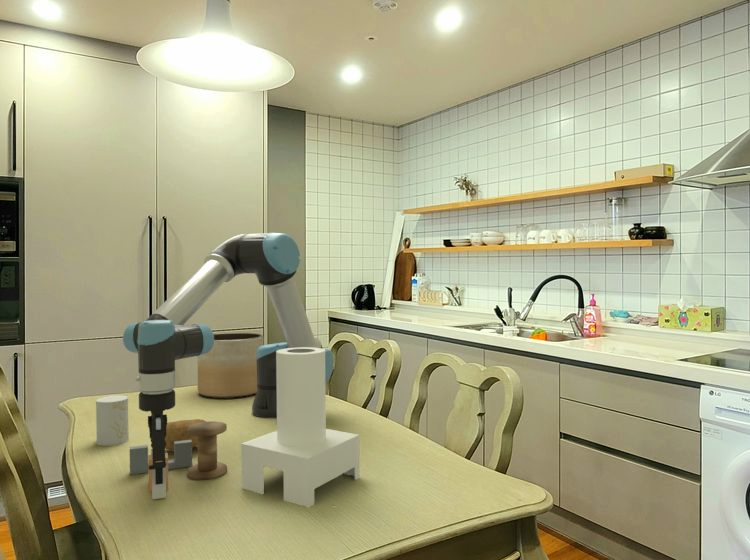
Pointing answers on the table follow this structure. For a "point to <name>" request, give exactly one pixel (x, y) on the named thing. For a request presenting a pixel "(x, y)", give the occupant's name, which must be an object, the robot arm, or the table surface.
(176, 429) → the potato
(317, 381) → the paper towel holder
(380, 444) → the table surface
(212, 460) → the bobbin
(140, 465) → the gray board
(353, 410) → the table surface
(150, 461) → the orange brown tapered block
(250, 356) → the planter
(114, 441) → the cup
